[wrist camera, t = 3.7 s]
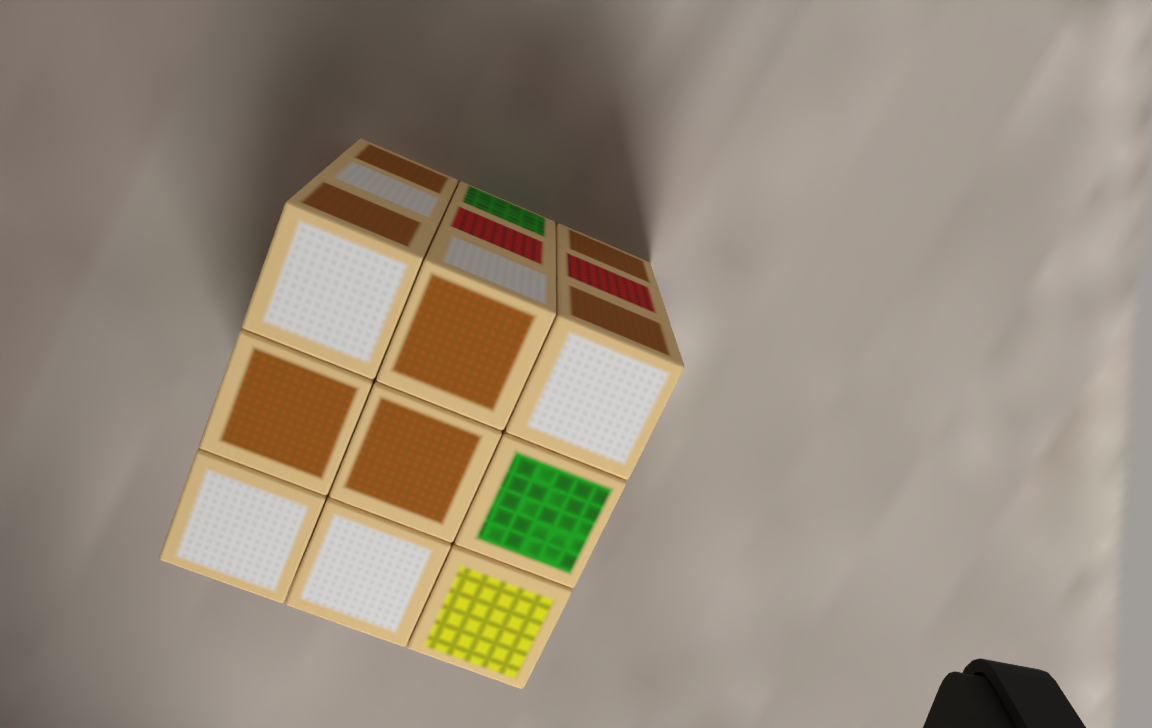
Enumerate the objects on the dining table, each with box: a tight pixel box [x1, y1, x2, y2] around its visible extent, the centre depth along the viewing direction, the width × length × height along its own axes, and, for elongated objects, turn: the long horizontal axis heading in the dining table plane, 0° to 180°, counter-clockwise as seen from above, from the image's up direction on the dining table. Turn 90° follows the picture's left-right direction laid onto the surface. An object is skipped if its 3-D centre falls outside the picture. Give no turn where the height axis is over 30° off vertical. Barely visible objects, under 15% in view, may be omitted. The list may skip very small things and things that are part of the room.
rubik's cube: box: [159, 139, 684, 689], centre depth 17 cm, size 6×6×6 cm
